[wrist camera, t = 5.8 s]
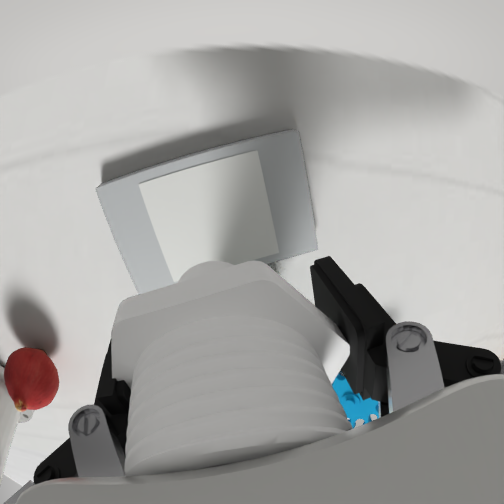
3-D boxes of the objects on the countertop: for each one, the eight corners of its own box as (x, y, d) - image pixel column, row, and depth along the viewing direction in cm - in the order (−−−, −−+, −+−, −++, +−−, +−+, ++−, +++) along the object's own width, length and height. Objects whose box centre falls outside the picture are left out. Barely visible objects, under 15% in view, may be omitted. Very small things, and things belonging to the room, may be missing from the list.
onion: (57, 379, 27) (39, 437, 19) (14, 351, 24) (-12, 406, 17) (74, 352, 25) (54, 416, 18) (26, 320, 23) (-6, 379, 16)
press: (172, 349, 27) (183, 574, 9) (101, 183, 20) (-98, 432, 2) (320, 307, 28) (433, 506, 10) (291, 129, 21) (601, 245, 3)
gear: (336, 347, 28) (413, 402, 24) (354, 322, 33) (421, 369, 29) (289, 405, 34) (353, 450, 30) (311, 379, 38) (368, 420, 34)
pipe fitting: (129, 349, 13) (112, 519, 6) (146, 192, 10) (66, 377, 3) (263, 364, 14) (310, 516, 7) (317, 228, 12) (453, 383, 5)
